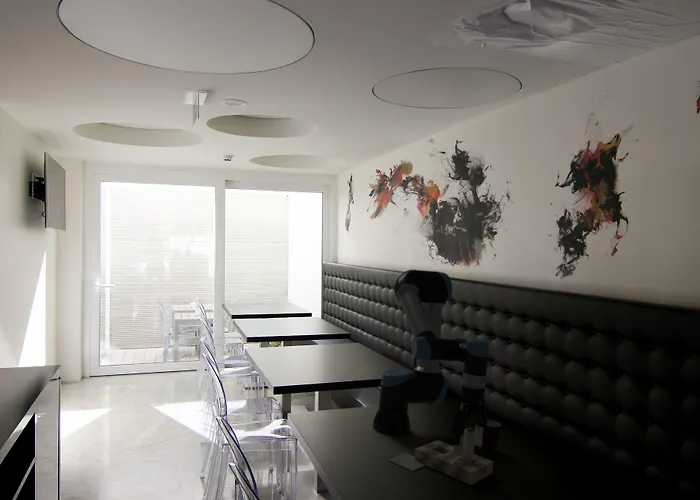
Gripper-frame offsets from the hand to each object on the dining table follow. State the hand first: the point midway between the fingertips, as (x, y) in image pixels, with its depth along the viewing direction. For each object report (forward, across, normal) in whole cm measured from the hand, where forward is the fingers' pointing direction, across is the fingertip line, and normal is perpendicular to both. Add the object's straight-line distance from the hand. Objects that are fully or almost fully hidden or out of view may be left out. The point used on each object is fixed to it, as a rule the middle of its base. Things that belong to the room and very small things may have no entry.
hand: (467, 450), depth 166 cm
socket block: (+7, 0, +5) cm, 9 cm away
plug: (+7, 0, 0) cm, 7 cm away
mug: (+8, +24, +5) cm, 26 cm away
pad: (+7, -10, +16) cm, 20 cm away
